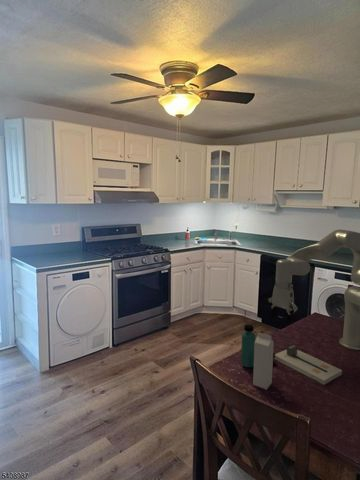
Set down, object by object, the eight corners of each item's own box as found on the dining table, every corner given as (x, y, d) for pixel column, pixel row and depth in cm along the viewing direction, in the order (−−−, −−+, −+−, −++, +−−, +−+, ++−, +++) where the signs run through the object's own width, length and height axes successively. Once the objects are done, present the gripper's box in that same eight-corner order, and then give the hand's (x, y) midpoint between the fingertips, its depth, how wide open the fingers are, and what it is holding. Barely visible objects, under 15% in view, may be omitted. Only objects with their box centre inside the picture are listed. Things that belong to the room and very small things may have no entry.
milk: (258, 378, 136) (260, 329, 133) (272, 383, 132) (274, 333, 130) (252, 384, 131) (254, 334, 128) (266, 390, 128) (268, 338, 125)
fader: (291, 351, 155) (292, 344, 154) (297, 354, 152) (297, 347, 152) (286, 353, 152) (286, 346, 152) (291, 356, 150) (292, 349, 149)
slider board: (291, 350, 161) (291, 346, 160) (341, 374, 139) (342, 369, 139) (273, 358, 153) (274, 354, 152) (324, 384, 132) (324, 379, 131)
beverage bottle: (255, 371, 142) (257, 329, 139) (240, 369, 143) (241, 327, 140) (254, 363, 148) (256, 323, 145) (240, 362, 149) (241, 322, 146)
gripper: (303, 287, 149) (301, 323, 151) (273, 279, 163) (272, 312, 165) (293, 290, 144) (291, 326, 147) (264, 281, 158) (262, 314, 161)
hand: (281, 318), depth 156 cm, fingers open, 8 cm apart
